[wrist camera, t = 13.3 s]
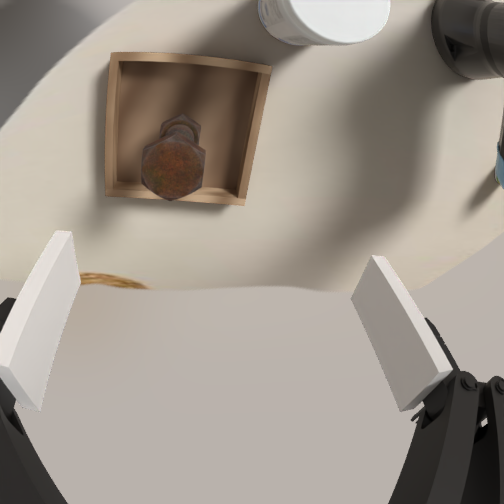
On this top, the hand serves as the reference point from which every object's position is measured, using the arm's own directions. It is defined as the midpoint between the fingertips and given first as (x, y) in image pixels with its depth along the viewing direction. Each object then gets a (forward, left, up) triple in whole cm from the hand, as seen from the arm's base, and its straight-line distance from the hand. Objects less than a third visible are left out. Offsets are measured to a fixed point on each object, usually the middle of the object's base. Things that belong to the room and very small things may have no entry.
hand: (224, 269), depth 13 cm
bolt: (+3, +1, -29) cm, 29 cm away
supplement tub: (-8, -16, -30) cm, 35 cm away
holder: (+3, +1, -29) cm, 30 cm away
